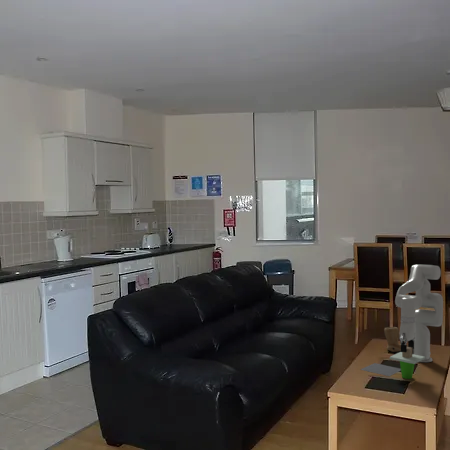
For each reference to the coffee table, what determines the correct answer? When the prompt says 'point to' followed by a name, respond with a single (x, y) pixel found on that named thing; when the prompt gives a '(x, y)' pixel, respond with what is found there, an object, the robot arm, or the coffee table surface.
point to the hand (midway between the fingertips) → (407, 350)
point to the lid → (407, 356)
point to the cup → (406, 369)
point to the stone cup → (392, 339)
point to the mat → (381, 369)
